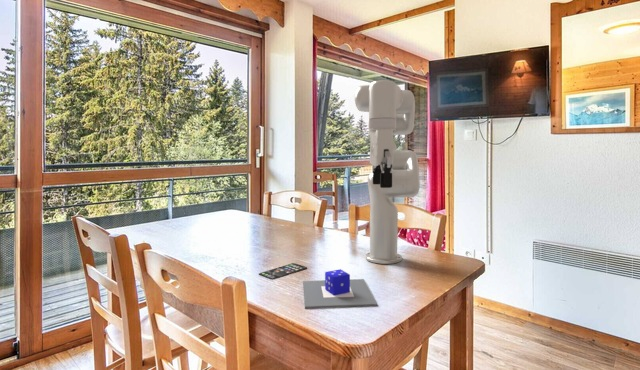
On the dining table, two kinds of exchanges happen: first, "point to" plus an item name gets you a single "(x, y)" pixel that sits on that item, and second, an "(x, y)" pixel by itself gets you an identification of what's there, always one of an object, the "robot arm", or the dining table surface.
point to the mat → (323, 299)
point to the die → (337, 282)
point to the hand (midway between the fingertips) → (381, 185)
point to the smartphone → (282, 271)
